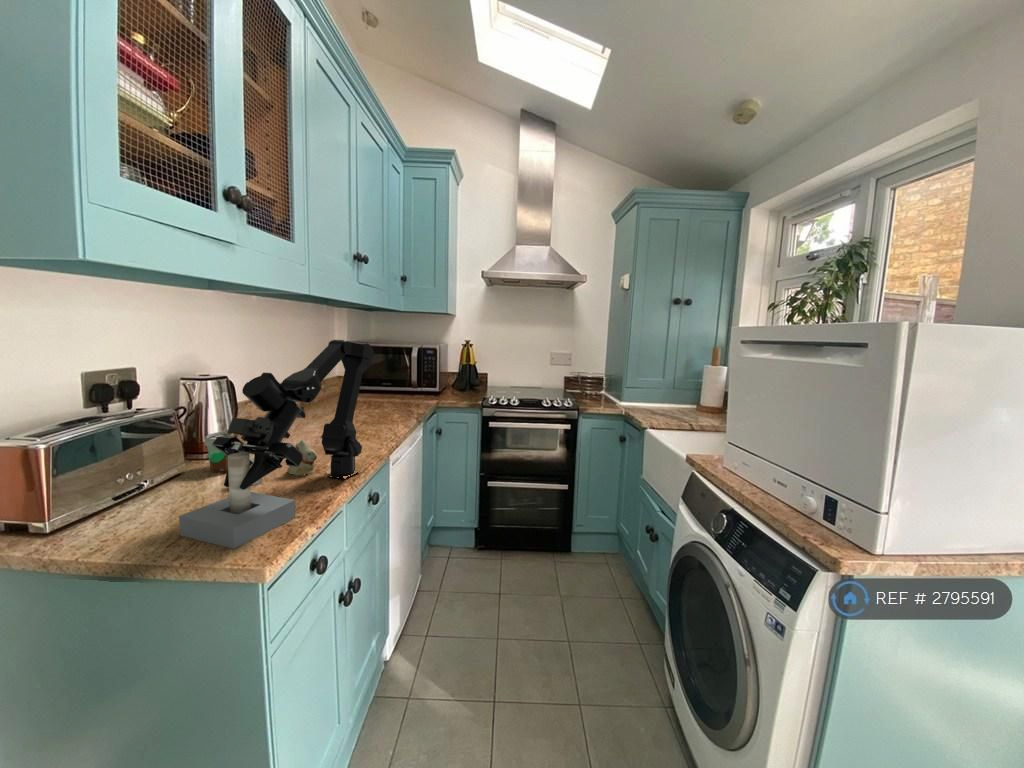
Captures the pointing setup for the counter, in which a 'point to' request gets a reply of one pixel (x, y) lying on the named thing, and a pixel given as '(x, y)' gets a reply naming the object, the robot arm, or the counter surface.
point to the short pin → (250, 467)
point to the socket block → (236, 520)
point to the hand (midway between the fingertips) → (233, 487)
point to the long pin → (238, 482)
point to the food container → (216, 454)
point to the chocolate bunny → (304, 460)
